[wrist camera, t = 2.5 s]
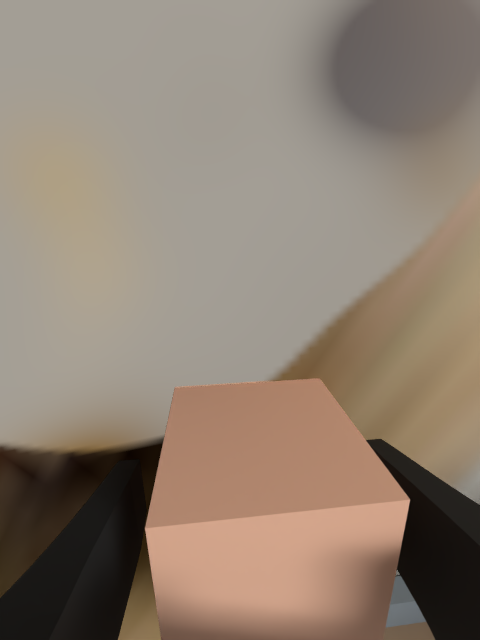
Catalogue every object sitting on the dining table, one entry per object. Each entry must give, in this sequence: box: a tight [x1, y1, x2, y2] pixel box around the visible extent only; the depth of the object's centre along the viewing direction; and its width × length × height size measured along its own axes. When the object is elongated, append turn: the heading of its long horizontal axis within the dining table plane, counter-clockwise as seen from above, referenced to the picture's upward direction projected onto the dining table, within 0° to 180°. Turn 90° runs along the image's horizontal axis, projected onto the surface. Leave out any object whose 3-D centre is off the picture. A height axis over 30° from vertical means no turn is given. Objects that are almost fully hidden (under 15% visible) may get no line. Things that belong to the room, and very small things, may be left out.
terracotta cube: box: [145, 378, 410, 640], centre depth 9 cm, size 5×5×5 cm
